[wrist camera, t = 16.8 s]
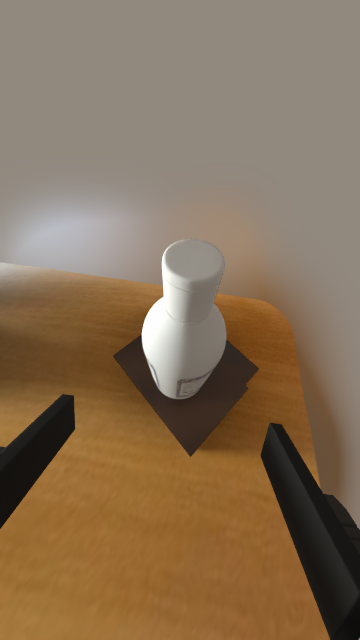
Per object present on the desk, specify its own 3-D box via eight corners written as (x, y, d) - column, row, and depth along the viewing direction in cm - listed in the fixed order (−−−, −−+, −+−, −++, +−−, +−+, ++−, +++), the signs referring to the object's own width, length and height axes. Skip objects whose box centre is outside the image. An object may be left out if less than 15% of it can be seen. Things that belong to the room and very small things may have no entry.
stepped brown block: (127, 373, 35) (112, 355, 26) (190, 322, 41) (195, 294, 33) (185, 448, 29) (190, 457, 21) (248, 376, 36) (272, 359, 27)
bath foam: (211, 362, 26) (284, 238, 9) (191, 410, 23) (248, 357, 6) (168, 342, 28) (163, 201, 11) (144, 384, 25) (80, 281, 7)
